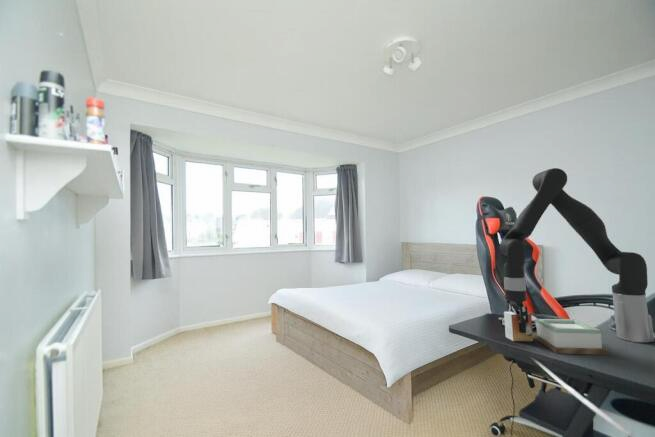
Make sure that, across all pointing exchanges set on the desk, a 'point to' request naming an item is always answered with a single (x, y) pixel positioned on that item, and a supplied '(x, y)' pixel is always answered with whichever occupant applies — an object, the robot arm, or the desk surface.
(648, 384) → the desk surface
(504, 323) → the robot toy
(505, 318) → the small box
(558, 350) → the build plate
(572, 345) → the base brick
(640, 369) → the desk surface
